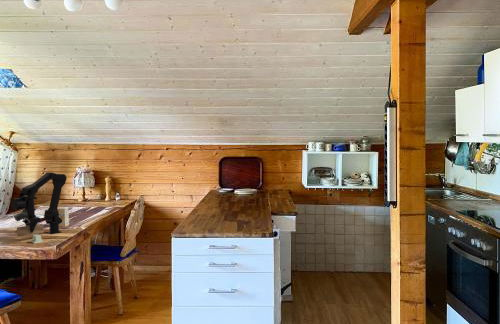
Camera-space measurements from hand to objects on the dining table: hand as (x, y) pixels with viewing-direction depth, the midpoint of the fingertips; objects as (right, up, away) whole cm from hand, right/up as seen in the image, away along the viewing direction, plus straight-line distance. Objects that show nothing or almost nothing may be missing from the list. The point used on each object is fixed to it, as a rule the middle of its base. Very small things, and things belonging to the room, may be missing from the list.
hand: (30, 232), depth 251 cm
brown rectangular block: (0, -1, 0) cm, 1 cm away
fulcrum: (+7, -5, -6) cm, 11 cm away
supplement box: (+2, -2, +37) cm, 37 cm away
